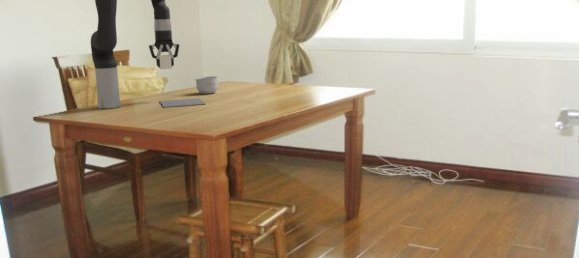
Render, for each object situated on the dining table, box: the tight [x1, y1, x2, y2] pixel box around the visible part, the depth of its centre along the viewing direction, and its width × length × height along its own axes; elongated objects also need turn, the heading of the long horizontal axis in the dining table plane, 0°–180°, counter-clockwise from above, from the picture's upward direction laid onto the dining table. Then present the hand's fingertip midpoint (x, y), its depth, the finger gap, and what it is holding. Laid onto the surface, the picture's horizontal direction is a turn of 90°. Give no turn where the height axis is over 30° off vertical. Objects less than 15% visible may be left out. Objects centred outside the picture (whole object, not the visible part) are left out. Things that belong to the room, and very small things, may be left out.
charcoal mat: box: [159, 97, 206, 108], centre depth 267 cm, size 18×18×1 cm
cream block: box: [159, 54, 173, 70], centre depth 275 cm, size 5×5×6 cm
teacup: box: [195, 75, 219, 95], centre depth 297 cm, size 14×11×8 cm
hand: (165, 66), depth 275 cm, fingers closed on cream block, 5 cm apart
